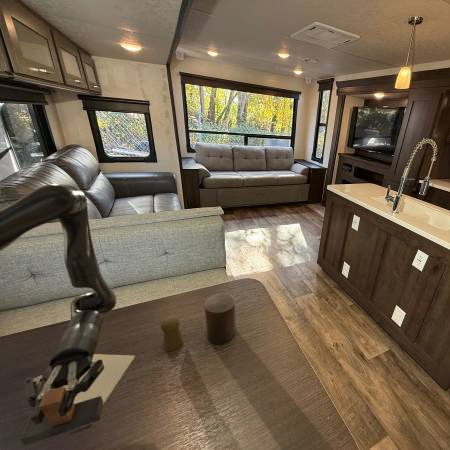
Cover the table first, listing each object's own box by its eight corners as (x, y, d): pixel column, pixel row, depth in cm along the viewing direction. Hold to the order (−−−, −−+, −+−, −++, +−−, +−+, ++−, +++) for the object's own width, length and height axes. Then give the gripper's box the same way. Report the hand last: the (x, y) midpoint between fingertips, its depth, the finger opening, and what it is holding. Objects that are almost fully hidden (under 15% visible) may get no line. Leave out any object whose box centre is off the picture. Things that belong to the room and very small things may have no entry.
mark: (71, 433, 57) (70, 437, 56) (70, 430, 57) (68, 434, 56) (93, 426, 59) (92, 429, 58) (91, 423, 58) (91, 426, 58)
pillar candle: (220, 349, 81) (218, 314, 75) (200, 335, 85) (197, 301, 79) (241, 330, 89) (241, 297, 83) (222, 318, 93) (221, 286, 87)
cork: (161, 355, 77) (156, 329, 73) (165, 339, 82) (161, 314, 78) (182, 352, 79) (178, 326, 75) (184, 337, 84) (181, 312, 80)
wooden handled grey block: (24, 445, 49) (4, 420, 44) (33, 423, 52) (14, 397, 48) (99, 420, 54) (88, 394, 50) (103, 401, 57) (92, 376, 53)
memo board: (38, 414, 60) (36, 411, 59) (88, 356, 75) (87, 353, 74) (98, 415, 61) (97, 412, 60) (136, 358, 75) (135, 355, 75)
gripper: (34, 343, 57) (-11, 421, 43) (109, 327, 63) (91, 390, 49) (44, 366, 60) (5, 446, 46) (114, 348, 66) (99, 414, 52)
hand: (50, 417), depth 47 cm, fingers closed on wooden handled grey block, 3 cm apart
